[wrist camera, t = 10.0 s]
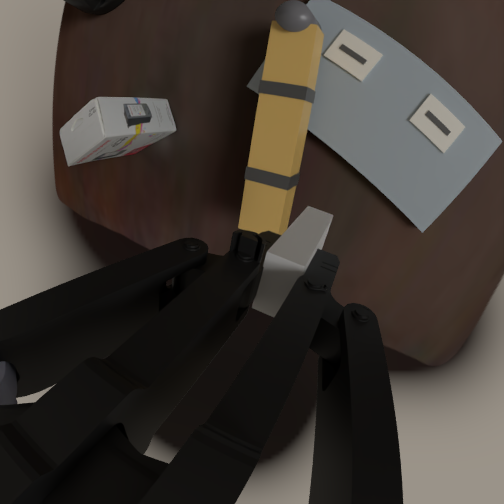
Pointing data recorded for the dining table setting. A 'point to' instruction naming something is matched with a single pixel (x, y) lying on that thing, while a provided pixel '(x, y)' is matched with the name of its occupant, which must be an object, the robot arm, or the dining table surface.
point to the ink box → (115, 128)
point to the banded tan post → (281, 118)
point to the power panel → (393, 116)
